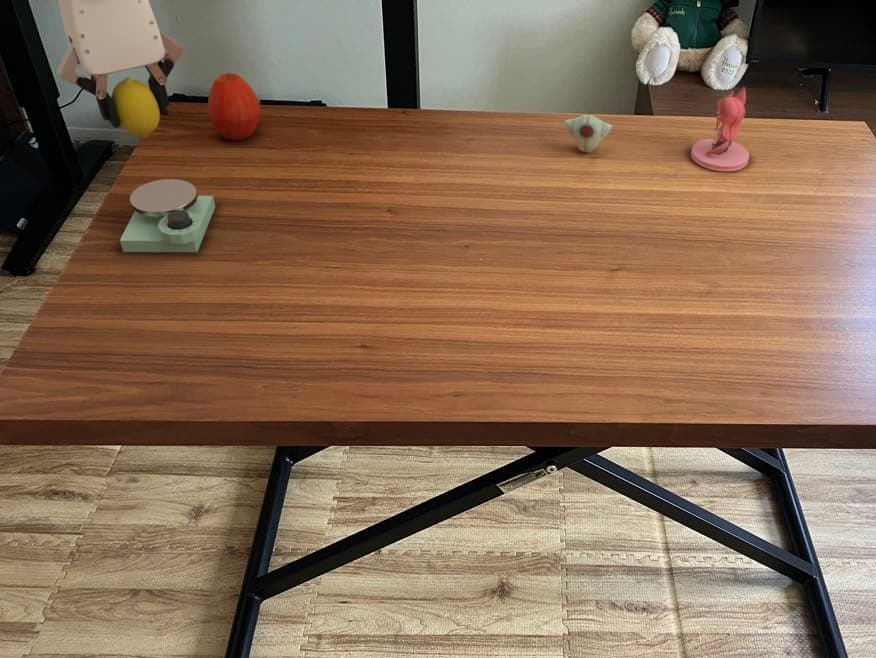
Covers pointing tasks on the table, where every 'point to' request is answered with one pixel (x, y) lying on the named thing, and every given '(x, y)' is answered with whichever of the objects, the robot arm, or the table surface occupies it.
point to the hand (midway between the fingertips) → (138, 116)
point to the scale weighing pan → (163, 197)
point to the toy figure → (724, 138)
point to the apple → (233, 107)
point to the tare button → (179, 220)
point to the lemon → (136, 107)
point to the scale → (168, 230)
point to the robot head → (587, 131)
